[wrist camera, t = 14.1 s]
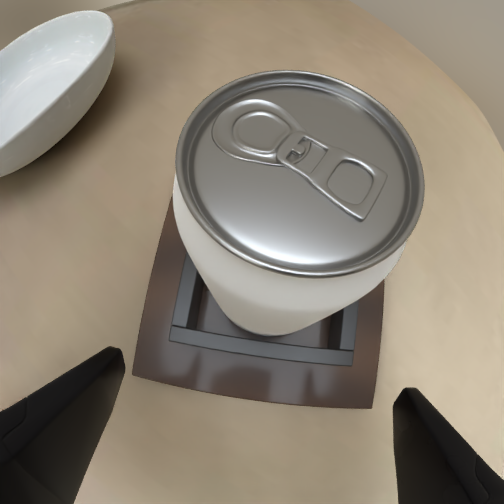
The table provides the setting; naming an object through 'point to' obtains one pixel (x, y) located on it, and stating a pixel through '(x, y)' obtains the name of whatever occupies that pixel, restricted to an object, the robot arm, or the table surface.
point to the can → (294, 197)
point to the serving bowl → (51, 83)
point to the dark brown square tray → (252, 342)
